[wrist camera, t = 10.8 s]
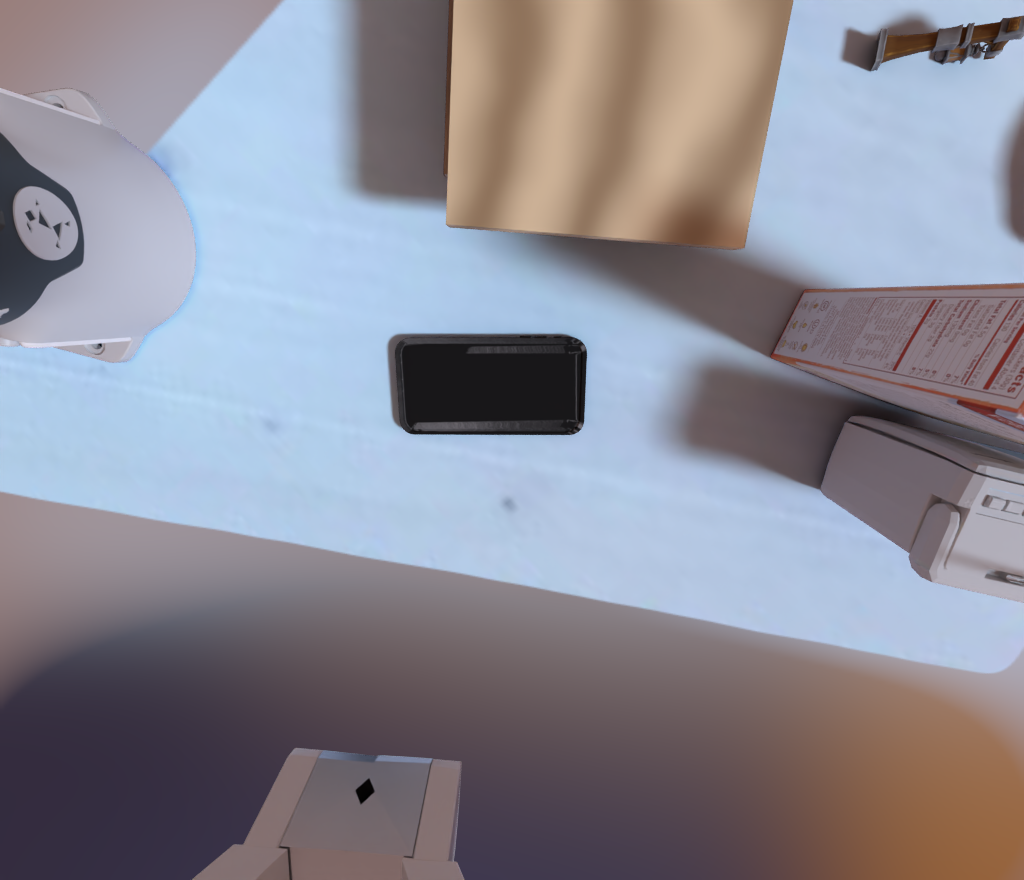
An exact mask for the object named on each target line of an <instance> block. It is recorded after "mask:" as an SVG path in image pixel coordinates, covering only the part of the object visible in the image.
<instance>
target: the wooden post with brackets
mask: <svg viewBox="0 0 1024 880" xmlns="http://www.w3.org/2000/svg"><path fill="white" fill-rule="evenodd" d="M974 24H975V23H972V24H970V23H969V24H968V25H967V27H963V25H960V26H957V27H952V28H946V29H939V30H938V32H934V33H928V34H917V35H901V36H894V35H887V34H888V29H889V28H888V29H881V31H880V33H879V36H878V38H877V41H879V42H878V48H877V53H876V58H875V63H874V66H873V68H872V70H871V71H874V70H877V69H878V68H879V66H880V64H881V63H883V62H886V61H889V60H892V59H896V58H900V57H903V56H907V55H911V54H915V53H918V52H924V51H930V50H932V51H931V53H933V52H936V51H937V52H936V54H935V60H937V61H940V60H942V59H943V63H942V64H945V63H948V62H953V61H958V60H959V61H960V64H962V63H963V61H964V60H965V59H966V58H967V57H968V55H970V56H971V55H972V54H973V57H974V56H975V55H976V54H977V53H978V52H979V51H982V52H983V53H985V56H984V59H991V58H994V57H995V56H996V55H999V54H1000V52H1001V51H1002V50H1003V47H1004V46H1005V44H1006V43H1007V42H1008V41H1009V40H1014V39H1021V38H1022V37H1023V36H1024V16H1019V17H1013V18H1003V19H1002V20H1001V22H998V23H991V24H984V25H977V26H974ZM980 42H985V43H987V44H985V45H984V46H983V47H980ZM974 43H978V44H977V45H976V47H975V45H974V46H972V44H974ZM987 45H989V46H988V47H987V48H986V51H983V50H984V49H985V48H984V47H985V46H987ZM980 49H981V50H980Z"/></svg>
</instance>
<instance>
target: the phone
mask: <svg viewBox="0 0 1024 880" xmlns="http://www.w3.org/2000/svg"><path fill="white" fill-rule="evenodd" d="M395 358H396V373H397V388H398V402H399V417H400V424H401V426H402V428H403V429H404V430H405V431H406V432H408V433H410V434H455V435H572V434H575V433H577V432H579V431H580V430H581V428H582V427H583V424H584V410H585V386H586V361H587V351H586V347H585V345H584V344H583V343H582V342H581V341H580V340H578V339H576V338H572V337H547V336H534V337H531V336H520V337H411V338H406V339H404V340H402V341H400V342H399V343H398V344H397V347H396V350H395Z"/></svg>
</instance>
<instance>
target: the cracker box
mask: <svg viewBox="0 0 1024 880" xmlns="http://www.w3.org/2000/svg"><path fill="white" fill-rule="evenodd" d="M771 358H772V359H775V360H778V361H780V362H783V363H785V364H788V365H791V366H793V367H796V368H798V369H801V370H804V371H806V372H809V373H811V374H814V375H816V376H819V377H822V378H824V379H827V380H829V381H832V382H835V383H837V384H840V385H843V386H845V387H848V388H851V389H853V390H856V391H859V392H861V393H864V394H867V395H869V396H872V397H875V398H877V399H880V400H883V401H886V402H888V403H891V404H894V405H896V406H899V407H902V408H905V409H908V410H910V411H913V412H916V413H919V414H921V415H924V416H927V417H931V418H934V419H937V420H941V421H944V422H947V423H951V424H954V425H957V426H961V427H964V428H967V429H971V430H974V431H978V432H981V433H984V434H988V435H991V436H995V437H998V438H1001V439H1005V440H1008V441H1012V442H1015V443H1019V444H1022V445H1024V283H1009V284H982V285H948V286H912V287H877V288H844V289H808V290H805V291H804V292H803V294H802V296H801V298H800V300H799V302H798V304H797V306H796V308H795V310H794V312H793V314H792V316H791V317H790V319H789V321H788V323H787V325H786V327H785V329H784V331H783V333H782V335H781V337H780V339H779V341H778V343H777V345H776V347H775V349H774V351H773V353H772V355H771Z"/></svg>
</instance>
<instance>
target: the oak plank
mask: <svg viewBox="0 0 1024 880" xmlns="http://www.w3.org/2000/svg"><path fill="white" fill-rule="evenodd" d="M792 5H793V0H454V8H453V37H452V66H451V95H450V124H449V152H448V181H447V210H446V225H447V226H449V227H453V228H465V229H478V230H490V231H503V232H515V233H528V234H540V235H553V236H565V237H578V238H590V239H603V240H615V241H628V242H640V243H653V244H665V245H678V246H690V247H703V248H715V249H728V250H737V249H742V248H744V247H745V242H746V237H747V232H748V227H749V222H750V217H751V212H752V206H753V201H754V196H755V191H756V186H757V181H758V176H759V171H760V166H761V161H762V156H763V151H764V146H765V141H766V136H767V131H768V126H769V121H770V116H771V111H772V106H773V101H774V96H775V91H776V86H777V80H778V75H779V70H780V65H781V60H782V55H783V50H784V45H785V40H786V35H787V30H788V25H789V20H790V15H791V10H792Z"/></svg>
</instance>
